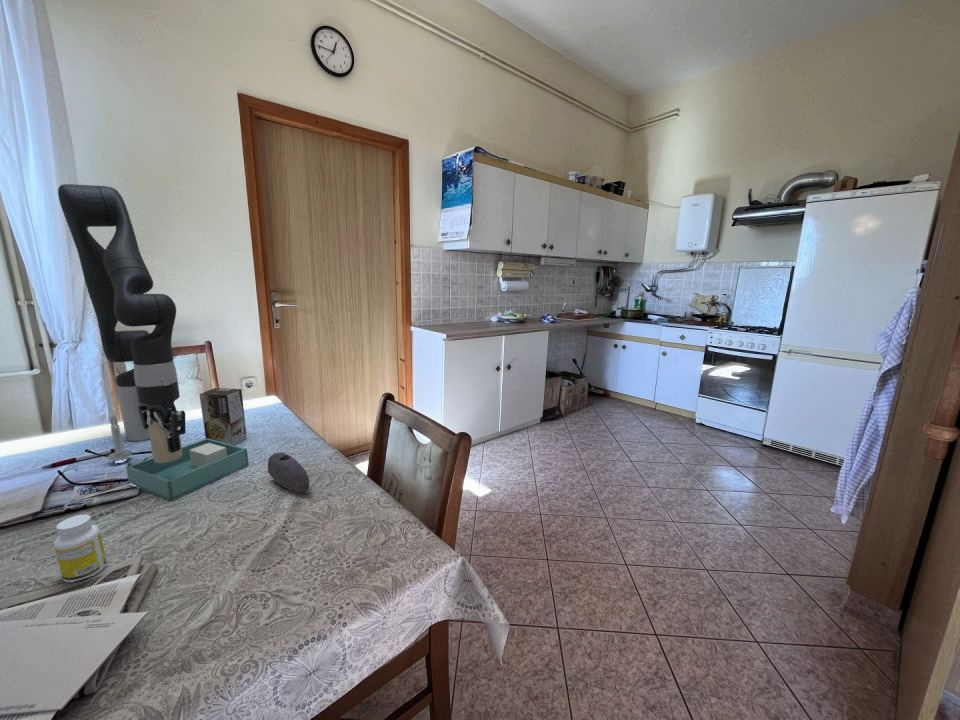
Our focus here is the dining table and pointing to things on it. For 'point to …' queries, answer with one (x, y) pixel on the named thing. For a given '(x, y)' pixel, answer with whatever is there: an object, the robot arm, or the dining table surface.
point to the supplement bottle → (79, 548)
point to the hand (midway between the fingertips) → (167, 448)
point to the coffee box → (223, 415)
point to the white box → (206, 454)
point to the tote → (185, 471)
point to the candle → (161, 445)
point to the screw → (117, 442)
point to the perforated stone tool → (288, 472)
